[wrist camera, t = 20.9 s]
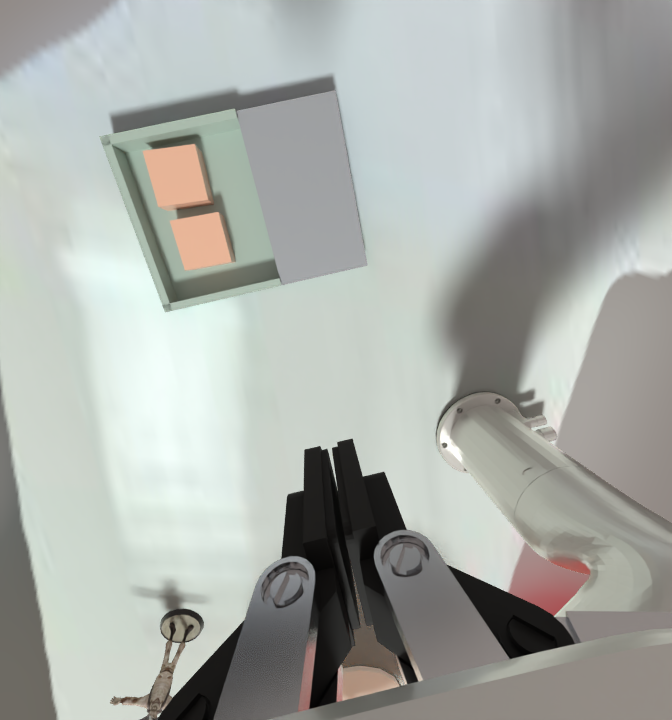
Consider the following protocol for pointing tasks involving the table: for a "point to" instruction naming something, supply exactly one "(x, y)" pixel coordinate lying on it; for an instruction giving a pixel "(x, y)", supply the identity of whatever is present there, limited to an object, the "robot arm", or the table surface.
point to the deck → (304, 185)
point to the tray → (196, 209)
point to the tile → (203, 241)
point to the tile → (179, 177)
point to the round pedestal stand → (365, 681)
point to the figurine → (178, 630)
